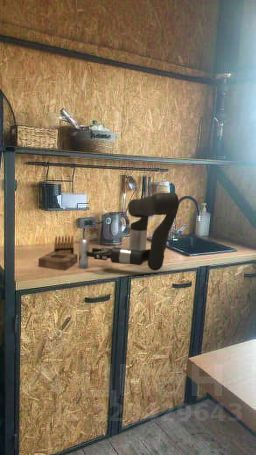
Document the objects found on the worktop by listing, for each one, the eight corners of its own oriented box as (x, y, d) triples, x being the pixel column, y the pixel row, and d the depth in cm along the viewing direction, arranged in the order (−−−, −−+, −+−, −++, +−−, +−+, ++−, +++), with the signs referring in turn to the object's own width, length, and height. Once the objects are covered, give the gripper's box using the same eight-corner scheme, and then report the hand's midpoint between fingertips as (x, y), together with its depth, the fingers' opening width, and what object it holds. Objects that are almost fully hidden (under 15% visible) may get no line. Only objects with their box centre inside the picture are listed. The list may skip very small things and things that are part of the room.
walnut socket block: (52, 258, 194) (52, 251, 193) (77, 261, 191) (77, 254, 191) (38, 266, 179) (38, 258, 178) (65, 270, 176) (65, 262, 175)
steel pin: (80, 265, 185) (81, 238, 183) (89, 266, 184) (90, 239, 182) (77, 267, 181) (78, 239, 178) (86, 269, 180) (87, 240, 177)
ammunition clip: (72, 256, 202) (73, 234, 200) (73, 256, 201) (74, 235, 198) (53, 257, 198) (54, 235, 195) (54, 258, 196) (54, 235, 194)
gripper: (125, 245, 183) (94, 241, 186) (118, 251, 169) (85, 247, 173) (124, 259, 184) (93, 256, 188) (117, 267, 171) (84, 263, 174)
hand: (89, 252), depth 180 cm, fingers open, 8 cm apart
